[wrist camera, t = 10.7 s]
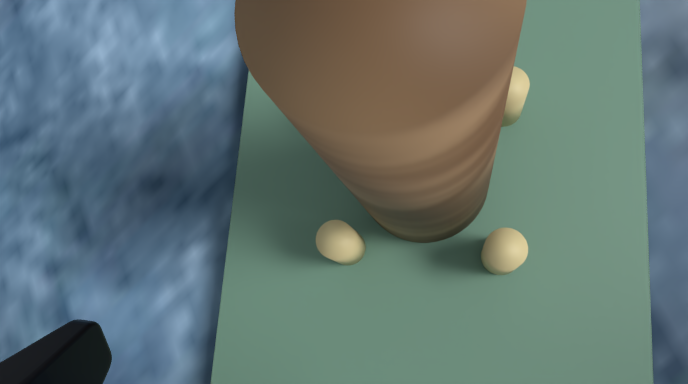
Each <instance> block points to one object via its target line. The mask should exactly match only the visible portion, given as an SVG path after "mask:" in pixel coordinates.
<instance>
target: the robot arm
mask: <svg viewBox="0 0 688 384" xmlns="http://www.w3.org/2000/svg"><path fill="white" fill-rule="evenodd" d="M111 360H112V355H111V351H110V348H109V346H108V344H107V341H106V339H105V336H104V334H103V331H102V329H101V327H100V325H99V324H98V323H96V322H94V321H87V320H73V321H70V322H68V323H67V324H65V325H63V326H62V327H60V328H58V329H57V330H55V331H53V332H51V333H50V334H48V335H46V336H45V337H43V338H41V339H40V340H38V341H36V342H34V343H33V344H31V345H29V346H28V347H26V348H24V349H23V350H21V351H19V352H18V353H16V354H14V355H12V356H11V357H9V358H7V359H6V360H4V361H2V362H1V363H0V384H103V382H104V380H105V377H106V375H107V373H108V371H109V368H110V365H111Z"/></svg>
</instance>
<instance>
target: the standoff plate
mask: <svg viewBox="0 0 688 384" xmlns="http://www.w3.org/2000/svg"><path fill="white" fill-rule="evenodd" d="M211 384H653V361H652V333H651V305H650V277H649V249H648V221H647V193H646V166H645V138H644V110H643V82H642V54H641V26H640V0H527V2H526V9H525V14H524V18H523V23H522V28H521V33H520V38H519V43H518V48H517V52H516V57H515V62H514V67H513V72H512V77H511V82H510V86H509V91H508V96H507V101H506V106H505V111H504V116H503V120H502V125H501V130H500V135H499V140H498V145H497V150H496V155H495V159H494V164H493V169H492V174H491V179H490V184H489V189H488V193H487V197H486V200H485V203H484V205H483V207H482V209H481V211H480V212H479V214H478V215H477V217H476V218H475V219H474V221H473V222H472V223H471V224H470V225H469V226H468V227H466V228H465V229H464V230H462V231H461V232H459V233H458V234H456V235H454V236H452V237H450V238H447V239H445V240H441V241H437V242H430V243H418V242H411V241H407V240H403V239H401V238H398V237H396V236H394V235H392V234H391V233H389V232H387V231H386V230H385V229H383V228H382V227H381V226H380V225H379V224H378V223H377V222H376V221H375V220H374V219H373V217H372V216H371V215H370V214H369V213H368V212H367V210H366V209H365V208H364V207H363V206H362V205H361V203H360V202H359V201H358V200H357V199H356V198H355V196H354V195H353V194H352V193H351V192H350V191H349V189H348V188H347V187H346V186H345V185H344V184H343V183H342V181H341V180H340V179H339V178H338V177H337V176H336V174H335V173H334V172H333V171H332V170H331V169H330V167H329V166H328V165H327V164H326V163H325V162H324V160H323V159H322V158H321V157H320V156H319V155H318V153H317V152H316V151H315V150H314V149H313V148H312V146H311V145H310V144H309V143H308V142H307V141H306V140H305V138H304V137H303V136H302V135H301V134H300V133H299V131H298V130H297V129H296V128H295V127H294V126H293V124H292V123H291V122H290V121H289V120H288V119H287V117H286V116H285V115H284V114H283V113H282V112H281V110H280V109H279V108H278V107H277V106H276V105H275V103H274V102H273V101H272V100H271V99H270V98H269V97H268V95H267V94H266V93H265V92H264V91H263V90H262V88H261V87H260V86H259V84H258V83H257V82H256V80H255V79H254V78H253V76H252V75H251V73H250V71H249V72H248V81H247V89H246V97H245V105H244V113H243V122H242V130H241V138H240V146H239V154H238V163H237V171H236V179H235V187H234V195H233V204H232V212H231V220H230V228H229V236H228V245H227V253H226V261H225V269H224V277H223V286H222V294H221V302H220V310H219V318H218V327H217V335H216V343H215V351H214V359H213V368H212V376H211Z"/></svg>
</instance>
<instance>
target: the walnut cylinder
mask: <svg viewBox="0 0 688 384" xmlns="http://www.w3.org/2000/svg"><path fill="white" fill-rule="evenodd" d="M526 2H527V0H236V2H235V29H236V35H237V40H238V45H239V48H240V51H241V53H242V56H243V59H244V62H245V63H246V65H247V67H248V69H249V71H250V73H251V75H252V76H253V78H254V79H255V80H256V82H257V83H258V84H259V86H260V87H261V88H262V90H263V91H264V92H265V93H266V94H267V95H268V97H269V98H270V99H271V100H272V101H273V102H274V103H275V105H276V106H277V107H278V108H279V109H280V110H281V112H282V113H283V114H284V115H285V116H286V117H287V119H288V120H289V121H290V122H291V123H292V124H293V126H294V127H295V128H296V129H297V130H298V131H299V133H300V134H301V135H302V136H303V137H304V138H305V140H306V141H307V142H308V143H309V144H310V145H311V146H312V148H313V149H314V150H315V151H316V152H317V153H318V155H319V156H320V157H321V158H322V159H323V160H324V162H325V163H326V164H327V165H328V166H329V167H330V169H331V170H332V171H333V172H334V173H335V174H336V176H337V177H338V178H339V179H340V180H341V181H342V183H343V184H344V185H345V186H346V187H347V188H348V189H349V191H350V192H351V193H352V194H353V195H354V196H355V198H356V199H357V200H358V201H359V202H360V203H361V205H362V206H363V207H364V208H365V209H366V210H367V212H368V213H369V214H370V215H371V216H372V217H373V219H374V220H375V221H376V222H377V223H378V224H379V225H380V226H381V227H382V228H383V229H385V230H386V231H387V232H389V233H391V234H392V235H394V236H396V237H398V238H401V239H403V240H407V241H411V242H418V243H430V242H437V241H441V240H445V239H447V238H450V237H452V236H454V235H456V234H458V233H459V232H461V231H462V230H464V229H465V228H466V227H468V226H469V225H470V224H471V223H472V222H473V221H474V219H475V218H476V217H477V215H478V214H479V212H480V211H481V209H482V207H483V205H484V203H485V200H486V197H487V193H488V189H489V184H490V179H491V174H492V169H493V164H494V159H495V155H496V150H497V145H498V140H499V135H500V130H501V125H502V120H503V116H504V111H505V106H506V101H507V96H508V91H509V86H510V82H511V77H512V72H513V67H514V62H515V57H516V52H517V48H518V43H519V38H520V33H521V28H522V23H523V18H524V14H525V9H526Z"/></svg>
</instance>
